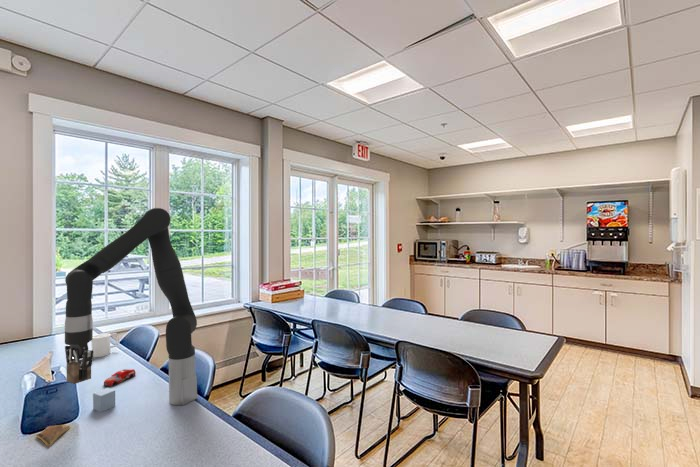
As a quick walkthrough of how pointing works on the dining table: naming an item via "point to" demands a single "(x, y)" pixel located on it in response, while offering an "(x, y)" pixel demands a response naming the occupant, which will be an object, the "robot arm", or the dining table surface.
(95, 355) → the cup
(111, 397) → the slate block
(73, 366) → the walnut block
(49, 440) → the shard
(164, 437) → the dining table surface
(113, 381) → the race car
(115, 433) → the dining table surface
